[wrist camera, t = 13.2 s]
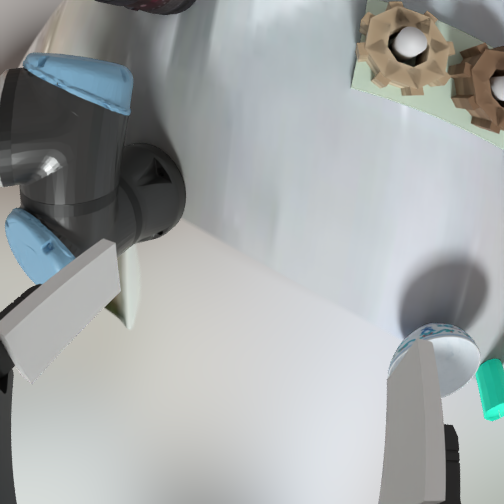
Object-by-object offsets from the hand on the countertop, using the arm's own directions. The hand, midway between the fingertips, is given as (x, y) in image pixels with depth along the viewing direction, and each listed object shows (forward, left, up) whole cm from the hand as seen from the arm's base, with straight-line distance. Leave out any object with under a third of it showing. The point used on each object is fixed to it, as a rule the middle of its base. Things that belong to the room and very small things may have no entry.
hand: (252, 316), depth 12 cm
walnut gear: (+17, +16, -27) cm, 36 cm away
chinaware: (+25, -21, -29) cm, 44 cm away
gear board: (+12, +16, -29) cm, 35 cm away
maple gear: (+6, +16, -27) cm, 32 cm away
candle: (+43, -25, -29) cm, 58 cm away
